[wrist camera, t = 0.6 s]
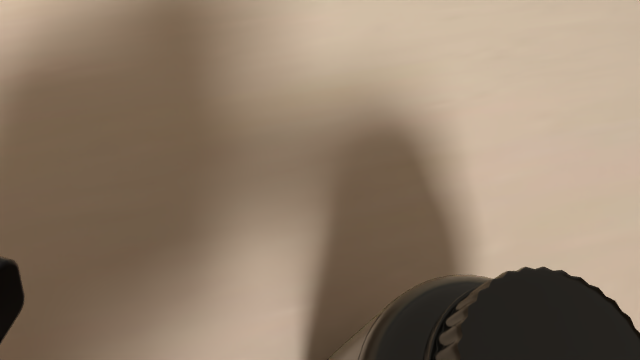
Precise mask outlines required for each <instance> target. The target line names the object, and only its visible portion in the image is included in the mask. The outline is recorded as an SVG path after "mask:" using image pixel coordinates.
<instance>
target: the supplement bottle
mask: <svg viewBox="0 0 640 360" xmlns="http://www.w3.org/2000/svg"><path fill="white" fill-rule="evenodd" d="M328 360H640V333H639V332H638V331H637V330H636V329H635V327H634V325H633V322H632V320H631V318H630V317H629V316H628V315H627V314H625V313H624V312H622V311H621V309H620V308H619V306H618V304H617V303H616V302H615V301H614V300H612V299H611V298H608V297H606V296H605V295H604V294H603V292H602V291H601V290H600V289H599V288H598V287H595V286H592V285H589V284H588V283H587V282H586V281H584V280H583V279H582V278H581V277H576V276H570V275H569V274H567V273H566V272H564V271H563V270H557V271H552V270H550V269H548V268H546V267H540V268H537V269H532V268H528V267H523V268H521V269H519V270H517V271H507V272H504V273H502V274H501V275H499V276H498V277H496V278H495V279H492V278H488V277H483V276H475V275H450V276H445V277H439V278H435V279H432V280H429V281H426V282H424V283H421V284H419V285H417V286H415V287H413V288H412V289H410V290H408V291H407V292H405V293H404V294H402V295H401V296H399V297H398V298H397V299H395V300H394V301H393V302H392V303H390V304H389V305H388V306H387V307H386V308H385V309H384V310H382V311H381V312H380V313H379V314H378V315H377V316H376V317H375V318H373V319H372V320H371V321H370V322H369V323H368V324H367V325H365V326H364V327H363V328H362V329H361V330H360V331H359V332H357V333H356V334H355V335H354V336H353V337H352V338H351V339H350V340H348V341H347V342H346V343H345V344H344V345H343V346H342V347H340V348H339V349H338V350H337V351H336V352H335V353H334V354H333V355H332V356H331V357H330V358H329V359H328Z"/></svg>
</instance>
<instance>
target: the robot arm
mask: <svg viewBox="0 0 640 360" xmlns="http://www.w3.org/2000/svg"><path fill="white" fill-rule="evenodd" d="M23 304H24V291H23V287H22V282H21V277H20V272H19V268H18V265H17V263H16V262H15V261H14V260H11V259H8V258H4V257H0V344H1V342H2V341H3V339H4V337H5V336H6V334H7V333H8V331H9V329H10V328H11V326H12V325H13V323H14V321H15V320H16V318H17V317H18V315H19V313H20V311H21V310H22V307H23Z"/></svg>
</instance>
